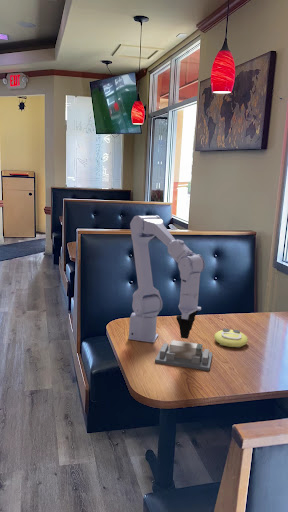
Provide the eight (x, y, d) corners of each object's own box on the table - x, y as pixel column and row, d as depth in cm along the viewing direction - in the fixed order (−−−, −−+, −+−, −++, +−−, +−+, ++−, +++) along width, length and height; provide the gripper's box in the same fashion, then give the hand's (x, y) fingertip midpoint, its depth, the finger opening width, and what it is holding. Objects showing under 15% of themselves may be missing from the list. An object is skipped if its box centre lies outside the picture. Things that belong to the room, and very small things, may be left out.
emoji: (249, 342, 144) (247, 328, 156) (213, 338, 147) (215, 324, 158) (248, 352, 146) (246, 337, 157) (213, 348, 148) (214, 334, 159)
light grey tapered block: (169, 356, 135) (169, 344, 134) (171, 351, 139) (172, 340, 138) (200, 360, 133) (201, 349, 132) (201, 355, 137) (202, 344, 136)
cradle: (154, 362, 132) (155, 353, 132) (162, 348, 144) (162, 339, 143) (209, 370, 129) (209, 361, 128) (212, 355, 140) (212, 346, 139)
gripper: (199, 300, 125) (196, 343, 127) (204, 288, 139) (201, 327, 141) (176, 297, 126) (173, 340, 129) (183, 286, 140) (180, 325, 143)
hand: (186, 333), depth 135 cm, fingers open, 7 cm apart
